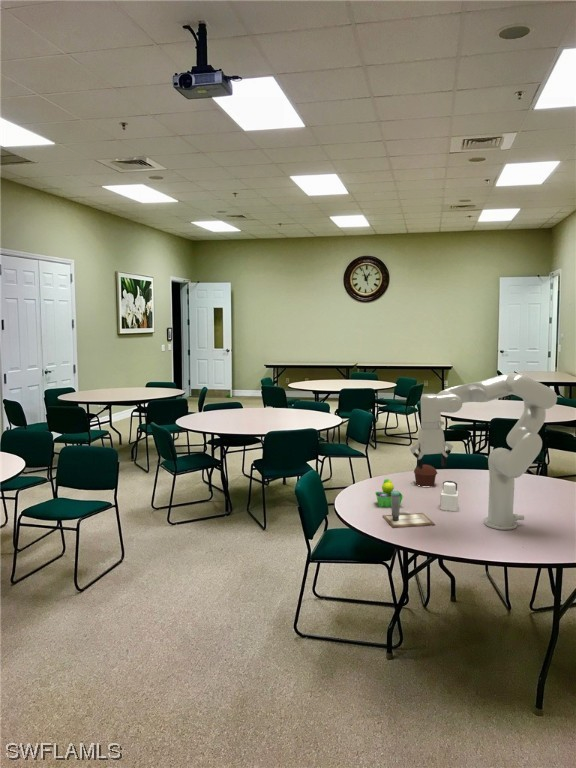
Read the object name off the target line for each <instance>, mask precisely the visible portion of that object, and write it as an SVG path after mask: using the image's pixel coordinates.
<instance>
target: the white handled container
mask: <svg viewBox="0 0 576 768" xmlns="http://www.w3.org/2000/svg"><path fill="white" fill-rule="evenodd" d="M458 507H459V491H458V484H457V482H455V481H453V480H445V481H443V482H442V490H441V493H440V511H447V510H449V512H458Z"/></svg>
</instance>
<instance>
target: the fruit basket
mask: <svg viewBox="0 0 576 768" xmlns="http://www.w3.org/2000/svg"><path fill="white" fill-rule="evenodd" d="M394 488H395V486H394V484H393V482H392V480H390V479H389V478H385V479H384V480H383V484H382V485H381V490H382V491H376V492H375V496H376V499H377V503H378V506H379V508H392V501H391V491H394ZM399 493H400V495H399V508H400V506H401V504H402V500H403V497H404V496H403V495H402V493H401V491H399Z"/></svg>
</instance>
